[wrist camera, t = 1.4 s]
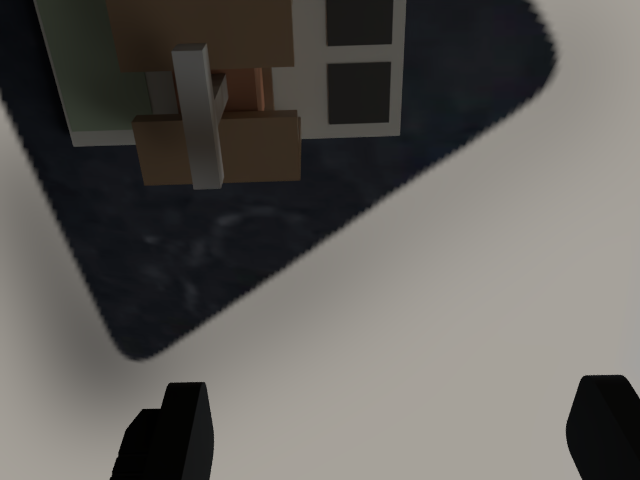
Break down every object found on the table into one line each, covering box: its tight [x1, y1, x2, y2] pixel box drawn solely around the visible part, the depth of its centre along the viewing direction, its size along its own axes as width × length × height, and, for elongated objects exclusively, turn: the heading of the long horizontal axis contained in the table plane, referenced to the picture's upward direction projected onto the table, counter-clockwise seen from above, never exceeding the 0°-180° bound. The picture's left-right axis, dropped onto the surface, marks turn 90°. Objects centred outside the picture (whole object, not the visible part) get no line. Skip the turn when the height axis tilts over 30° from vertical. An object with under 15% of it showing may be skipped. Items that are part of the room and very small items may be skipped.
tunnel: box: [33, 0, 406, 185], centre depth 31 cm, size 10×20×8 cm, turn 92°
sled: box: [171, 43, 275, 189], centre depth 28 cm, size 6×5×10 cm
